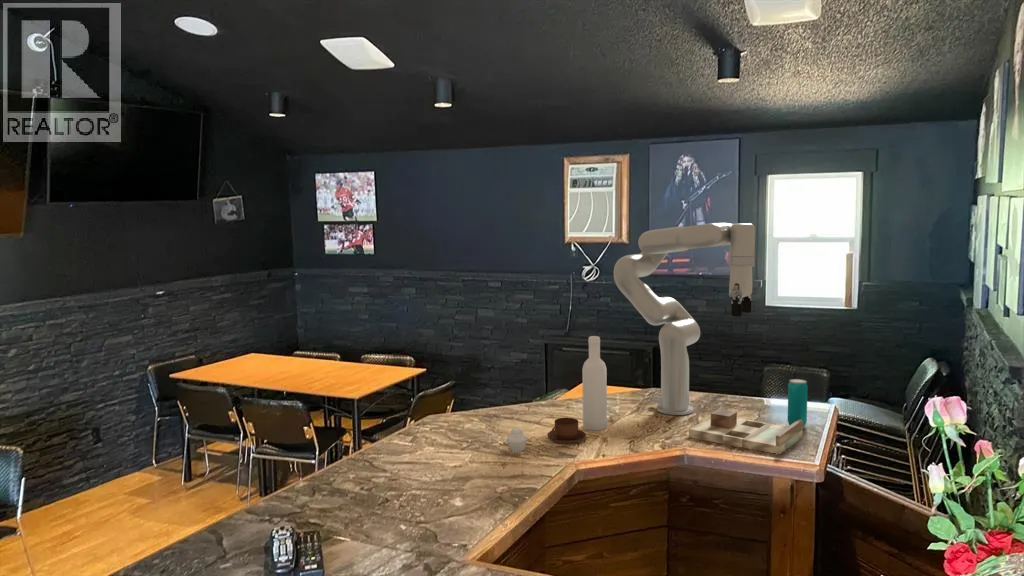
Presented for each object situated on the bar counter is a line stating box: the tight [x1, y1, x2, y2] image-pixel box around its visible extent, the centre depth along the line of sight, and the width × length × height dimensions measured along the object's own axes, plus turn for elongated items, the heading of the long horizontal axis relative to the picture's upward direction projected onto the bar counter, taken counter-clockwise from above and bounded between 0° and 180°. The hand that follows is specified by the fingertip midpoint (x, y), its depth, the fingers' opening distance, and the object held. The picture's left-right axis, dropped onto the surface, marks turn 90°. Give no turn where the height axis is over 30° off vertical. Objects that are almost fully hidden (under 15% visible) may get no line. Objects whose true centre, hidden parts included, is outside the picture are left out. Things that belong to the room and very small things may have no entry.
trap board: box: [688, 416, 804, 455], centre depth 222 cm, size 28×20×6 cm
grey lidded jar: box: [506, 427, 528, 453], centre depth 213 cm, size 6×6×7 cm
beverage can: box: [787, 378, 809, 429], centre depth 231 cm, size 6×6×15 cm
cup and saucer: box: [546, 417, 587, 444], centre depth 223 cm, size 12×12×6 cm
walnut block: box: [710, 408, 738, 429], centre depth 226 cm, size 6×6×4 cm
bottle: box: [581, 335, 608, 432], centre depth 234 cm, size 8×8×30 cm
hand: (741, 314), depth 234 cm, fingers open, 9 cm apart
